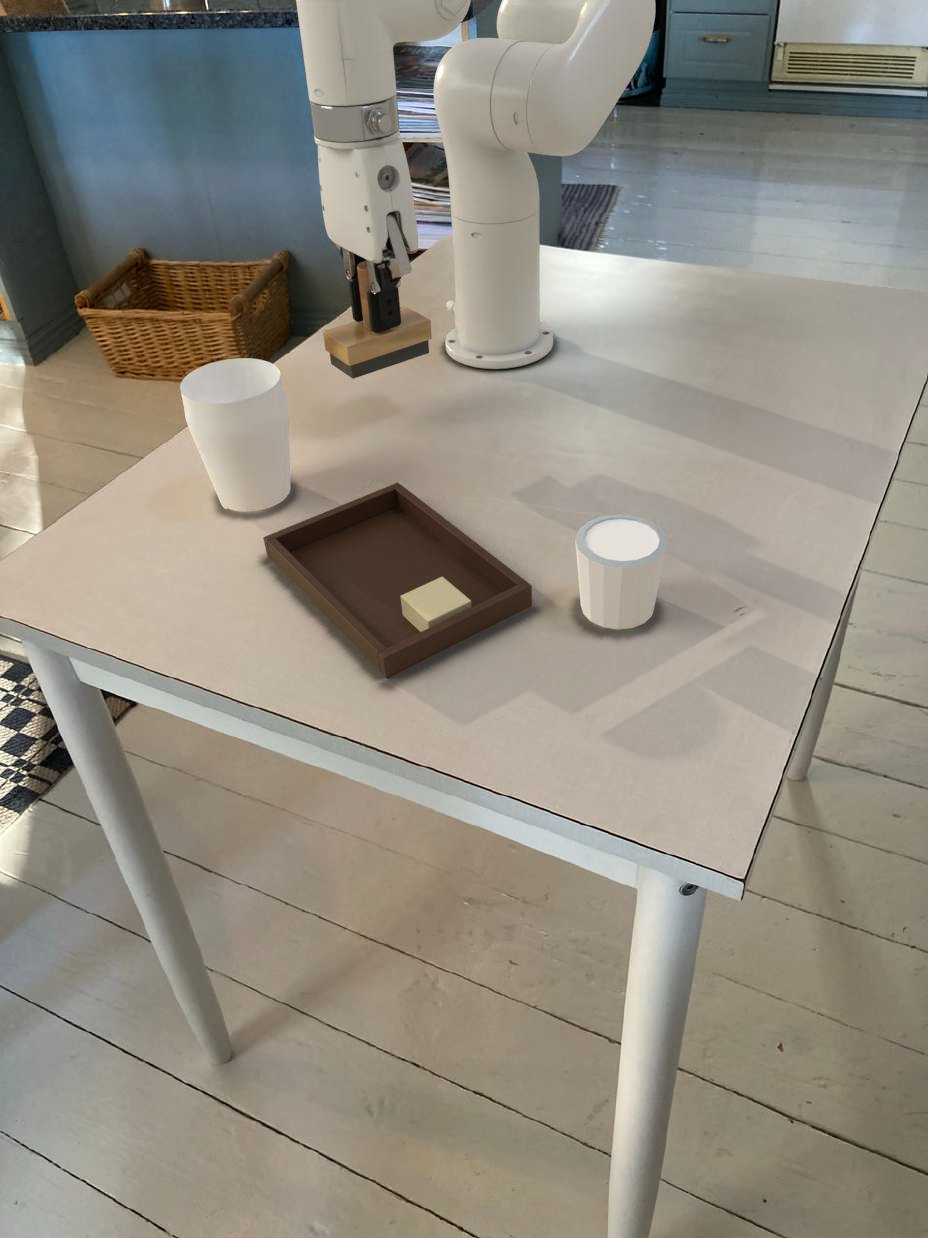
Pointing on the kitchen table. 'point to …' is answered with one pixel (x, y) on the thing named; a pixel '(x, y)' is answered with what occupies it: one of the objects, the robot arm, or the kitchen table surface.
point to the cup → (241, 430)
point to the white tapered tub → (619, 569)
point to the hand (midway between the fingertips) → (377, 321)
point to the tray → (393, 575)
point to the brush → (376, 338)
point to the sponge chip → (433, 603)
